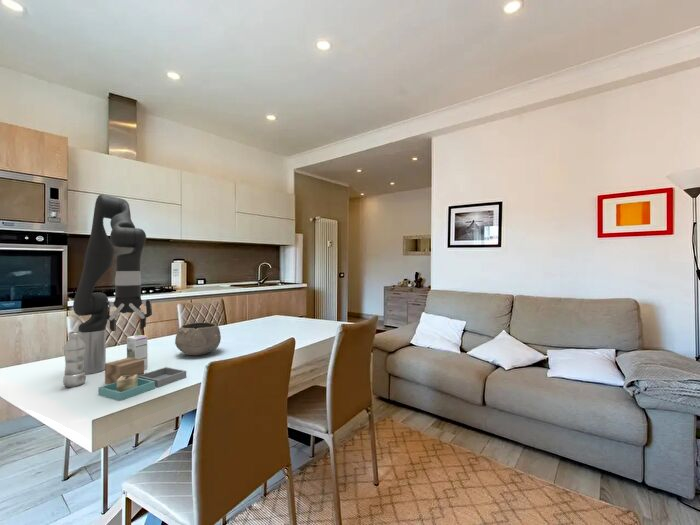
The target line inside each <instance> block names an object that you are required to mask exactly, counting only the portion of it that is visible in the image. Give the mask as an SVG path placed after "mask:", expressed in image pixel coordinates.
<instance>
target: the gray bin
mask: <svg viewBox="0 0 700 525" xmlns="http://www.w3.org/2000/svg"><path fill="white" fill-rule="evenodd" d="M138 378H142V379H146V380H151V381H155V388H160V387H164V386H166V385H168V384H169V385H170V384H172V383H174V382H177V381H179V380H182V379H186V378H187V370H183V369H179V368H172V367H167V366H166V367H165V366H164V367H162V368H159V369H156V370H151V371H149V372H144V374H142V375H138Z"/></svg>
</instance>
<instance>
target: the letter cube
mask: <svg viewBox="0 0 700 525" xmlns="http://www.w3.org/2000/svg"><path fill="white" fill-rule="evenodd" d="M137 384H138V374H135V375H125V376H121V377H120V378H119V379H118V380H117V391H119V392H123V391H126V390H129V389H132V388H135V387H137Z"/></svg>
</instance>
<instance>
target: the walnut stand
mask: <svg viewBox="0 0 700 525" xmlns="http://www.w3.org/2000/svg"><path fill="white" fill-rule="evenodd" d="M135 374H138V375H142V374H145V370H144V360H141V359H135V358H130V357H129V358H127V357H126V358H122V359H119V360H114V361H109V362H106V363H105V370H104V384H105V385H109V384H112V383H115V382H117V380H118V379H119V378H120V377H121V376H125V375H135Z"/></svg>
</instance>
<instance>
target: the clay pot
mask: <svg viewBox="0 0 700 525" xmlns="http://www.w3.org/2000/svg"><path fill="white" fill-rule="evenodd" d="M221 337H222V336H221V331H220V327H219V326H218V325H217V323H215V322H214V323H213V322H191V323H187V324H183V325H180V327H179V329H178V331H177V332H176V335H175V340H174V342H175V343H174V344H175V346H176V348H177V349H178V350H179V351H180V352H182V353H183V354H187V355H190V356H202V355H206V354H209V353H211V352H213V351H214V350H216V349H217V348H218V347H219V346H220V343H221V340H222V338H221Z"/></svg>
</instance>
